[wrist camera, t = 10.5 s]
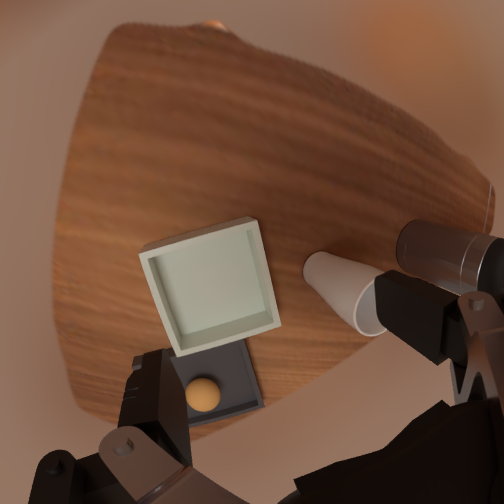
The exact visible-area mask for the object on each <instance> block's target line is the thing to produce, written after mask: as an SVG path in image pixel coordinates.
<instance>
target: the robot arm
mask: <svg viewBox="0 0 504 504" xmlns="http://www.w3.org/2000/svg"><path fill="white" fill-rule="evenodd" d="M397 259H398V262H399V265H400V266H401V268H402V269H403V270H404V271H406V272H408V273H411V274H413V275H415V276H418V277H420V278H422V279H424V280H427V281H429V282H432V283H434V284H436V285H438V286H441V287H443V288H446V289H448V290H450V291H452V292H455V293H457V294H459V295H461V296H458V295H456V294H453V293H451V292H449V291H447V290H444V289H442V288H440V287H438V286H437V287H436V286H435V285H433V284H431V283H429V284H428V282H426V281H424V280H422V279H419V278H414V277H409V276H407V275H405V274H403V273H400V272H398V271H395V270H390V271H387V272H385V273H383V274H380V275H378V276H376V277H375V279H374V288H375V301H376V314H377V318H378V320H379V322H380V323H381V325H382V326H383V327H385V328H386V329H387V330H389V331H390V332H392V333H393V334H394V335H396V336H397V337H399V338H400V339H401V340H403V341H404V342H406V343H407V344H408V345H410V346H411V347H413V348H414V349H415V350H417V351H418V352H419V353H421V354H422V355H423V356H425V357H426V358H428V359H429V360H430V361H432V362H433V363H434V364H436V365H437V366H438V365H439V364H440V363H442V362H443V361H445V360H446V359H448V358H450V359H451V362H450V372H451V378H452V385H453V391H454V399H455V405H454V406H451V407H450V406H449V405H448V404H446V403H445V402H444V401H443V400H441V401H440V402H438V403H437V404H435V405H434V406H433V407H431V408H430V409H428V410H427V411H426V412H424V413H423V414H421V415H420V416H418V417H417V418H415V419H414V420H412V421H411V422H410V423H409V425H407V426H406V427H405V428H404V429H403V430H402V432H400V433H399V434H398V435H397V436H396V437H395V438H394V439H393V440H392V441H391V442H390V443H389V444H388V445H387V446H385V447H384V448H383V449H381V450H378V451H375V452H372V453H368V454H365V455H361V456H358V457H355V458H351V459H347V460H343V461H339V462H335V463H333V464H331V465H328V466H326V467H324V468H321V469H319V470H317V471H314V472H311V473H309V474H306V475H304V476H301V477H298V478H296V479H294V482H295V485H296V488H297V490H296V491H294V492H292V493H291V494H289V495H288V496H286V497H285V498H284V499H282V500H281V501H280V502H279V503H278V504H504V239H503V238H499V237H494V236H490V235H486V234H481V233H477V232H473V231H468V230H464V229H459V228H455V227H450V226H445V225H441V224H436V223H431V222H426V221H421V220H415V221H412V222H410V223H409V224H407V225H406V226H405V228H404V229H403V230H402V232H401V234H400V236H399V239H398V243H397ZM28 504H250V503H248V502H246V501H244V500H243V499H241V498H239V497H237V496H236V495H234V494H233V493H231V492H229V491H228V490H226V489H224V488H223V487H221V486H220V485H218V484H216V483H215V482H214V481H212V480H211V479H209V478H208V477H206V476H205V475H203V474H202V473H200V472H199V471H197V470H196V469H195V468H193V465H192V456H191V446H190V436H189V425H188V413H187V399H186V394H185V390H184V387H183V384H182V382H181V380H180V378H179V376H178V374H177V372H176V370H175V368H174V366H173V363H172V361H171V359H170V357H169V355H168V353H167V351H166V350H165V349H164V348H163V349H159V350H155V351H151V352H148V353H144V355H143V359H142V365H141V369H137V370H134V371H133V373H132V374H131V375H130V377H129V378H128V379H127V382H126V387H125V392H124V396H123V401H122V406H121V411H120V416H119V421H118V427H117V429H114V430H112V431H111V432H109V433H108V434H107V435H106V436H105V437H104V438H103V439H102V441H101V443H100V445H99V452H98V453H95V454H93V455H90V456H87V457H84V458H81V459H78V460H76V459H75V458H74V457H73V456H72V454H71V453H69V452H68V451H65V450H55V451H52V452H50V453H48V454H47V455H45V456H44V457H43V458H42V459H41V460H40V462H39V464H38V466H37V469H36V473H35V477H34V481H33V485H32V489H31V493H30V497H29V502H28Z"/></svg>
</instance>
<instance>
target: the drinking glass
mask: <svg viewBox="0 0 504 504" xmlns="http://www.w3.org/2000/svg"><path fill="white" fill-rule="evenodd" d="M383 273H385V272H384V271H382V270H380V269H378V268H375V267H373V266H370V265H367V264H364V263H360V262H356V261H353V260H349V259H346V258H342V257H339V256H335V255H332V254H330V253H328V252H316V253H314V254H312V255H311V256H310V257H309V258H308V259H307V260H306V262H305V264H304V267H303V276H304V279H305V281H306V283H307V284H308V285H309V286H311V287H312V288H313V289H314V290H315V291H316V292H317V293H318V294H319V295H320V296H321V297H322V298H323V300H324V301H325V302H326V303H327V304H328V305H329V306H330V307H331V308H332V309H333V311H334V312H335V313H336V314H337V315H338V316H339V317H340V318H341V319H342V320H344V321H345V322H346V323H347V324H348V325H350V326H351V327H352V328H354V329H355V330H357V331H358V332H359V333H361V334H362V335H365V336H377V335H380V334H382V333H384V332H385V331H387V329H386V328H385V327H383V326H382V325H381V323H380V322H379V320H378V318H377V314H376V301H375V288H374V279H375V277H376V276H378V275H380V274H383Z"/></svg>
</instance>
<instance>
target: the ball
mask: <svg viewBox="0 0 504 504" xmlns="http://www.w3.org/2000/svg"><path fill="white" fill-rule="evenodd" d="M185 394H186V399H187V402H188V404H189V405H190V406H191V407H192V408H193V409H195V410H197V411H202V412H206V411H210V410H212V409H214V408H215V407H216V406H217V405H218V403H219V401H220V390H219V388H218V386H217V385H216V384H215V383H214V382H213V381H211V380H209V379H205V378H199V379H195V380H193V381H192V382H191V383H190V384H189V385H188V386H187V388H186V391H185Z"/></svg>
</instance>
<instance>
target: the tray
mask: <svg viewBox="0 0 504 504" xmlns="http://www.w3.org/2000/svg"><path fill="white" fill-rule="evenodd" d="M165 350H166V351H167V353H168V355H169V357H170V359H171V361H172V363H173V366H174V368H175V370H176V372H177V374H178V376H179V378H180V380H181V382H182V384H183V387H184V390H185V391H186V388H187V386H188V385H189V384H190V383H191V382H192V381H193V380H195V379H199V378H205V379H209V380H211V381H213V382H214V383H215V384H216V385H217V386H218V388H219V390H220V401H219V403H218V405H217V406H216V407H215V408H214V409H212V410H210V411H206V412H202V411H197V410H195V409H193V408H192V407H191V406H190V405H189V404H188V402H187V413H188V425H189V428H191V427H195V426H199V425H203V424H207V423H211V422H215V421H219V420H223V419H227V418H230V417H234V416H237V415H240V414H244V413H247V412H250V411H254V410H257V409H260V408H263V407H265V406H264V403H263V400H262V396H261V393H260V390H259V387H258V384H257V381H256V377H255V374H254V371H253V368H252V364H251V361H250V358H249V354H248V351H247V348H246V344H245V341H244V338H243V339H240V340H237V341H233V342H230V343H227V344H223V345H220V346H217V347H213V348H210V349H206V350H203V351H199V352H195V353H192V354H188V355H184V356H181V357H177V356H176V354H175V351H174V349H173V348H169V349H165ZM142 359H143V355H141V356H137V357H134V359H133V364H132V368H133V370H137V369H141V365H142Z"/></svg>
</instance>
